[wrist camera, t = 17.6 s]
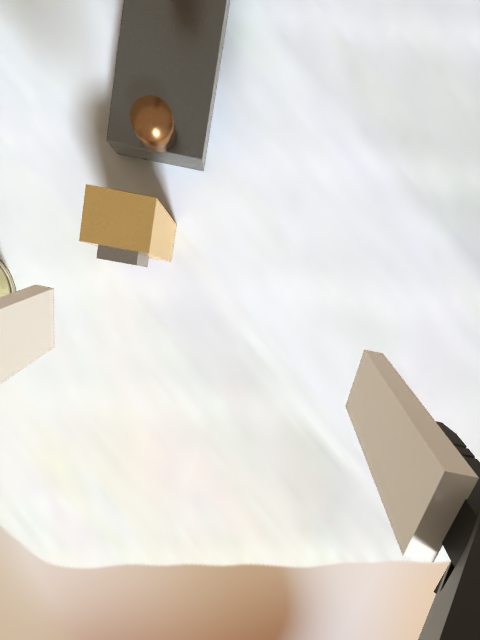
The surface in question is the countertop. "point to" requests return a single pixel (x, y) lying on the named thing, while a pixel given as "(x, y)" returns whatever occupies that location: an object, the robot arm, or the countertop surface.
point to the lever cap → (126, 226)
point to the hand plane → (167, 79)
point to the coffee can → (6, 281)
